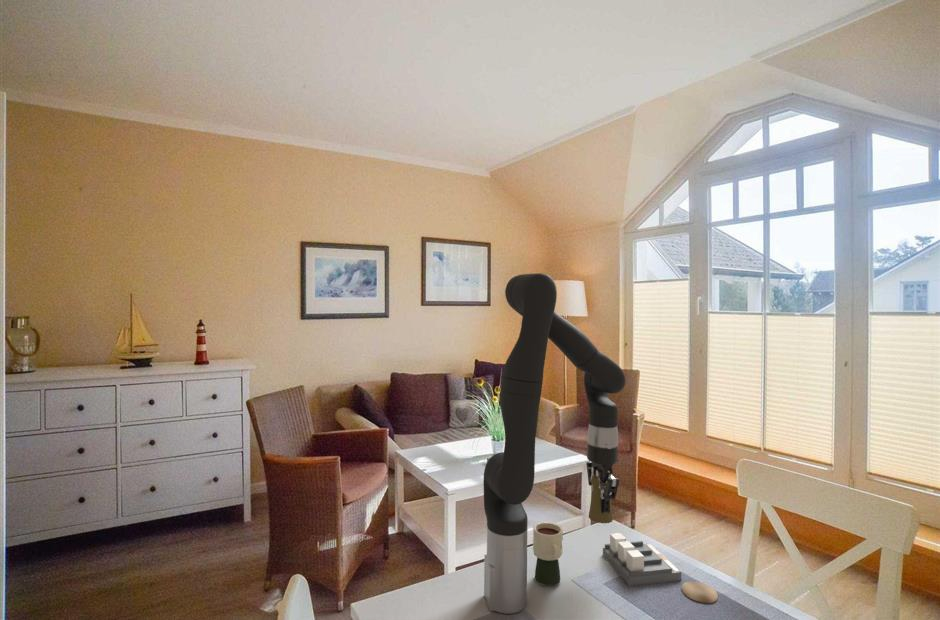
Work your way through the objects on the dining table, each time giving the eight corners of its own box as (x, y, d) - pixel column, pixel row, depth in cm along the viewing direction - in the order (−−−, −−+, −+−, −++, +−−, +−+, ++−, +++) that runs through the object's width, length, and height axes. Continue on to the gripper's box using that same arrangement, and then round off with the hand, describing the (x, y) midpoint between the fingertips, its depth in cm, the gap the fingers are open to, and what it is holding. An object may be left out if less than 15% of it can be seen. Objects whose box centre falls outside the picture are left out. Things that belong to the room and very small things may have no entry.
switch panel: (629, 585, 114) (629, 573, 114) (602, 555, 128) (602, 544, 128) (681, 580, 117) (681, 568, 117) (649, 550, 130) (650, 540, 130)
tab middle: (623, 563, 120) (623, 548, 120) (617, 557, 123) (618, 542, 123) (634, 562, 120) (634, 547, 120) (628, 556, 123) (628, 541, 123)
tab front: (632, 573, 115) (632, 557, 115) (626, 566, 118) (626, 550, 118) (643, 572, 116) (644, 556, 116) (637, 565, 119) (637, 549, 119)
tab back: (615, 554, 124) (615, 539, 124) (609, 548, 127) (610, 533, 127) (625, 553, 125) (626, 538, 125) (620, 547, 128) (620, 533, 128)
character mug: (570, 592, 111) (570, 538, 111) (541, 596, 110) (542, 540, 109) (552, 567, 122) (553, 517, 122) (526, 570, 120) (526, 519, 120)
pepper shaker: (614, 524, 117) (615, 480, 116) (589, 521, 118) (590, 478, 118) (611, 514, 122) (612, 472, 122) (587, 511, 124) (589, 469, 124)
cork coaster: (695, 604, 107) (695, 602, 107) (675, 585, 114) (675, 583, 114) (725, 601, 108) (725, 599, 108) (703, 582, 116) (703, 580, 116)
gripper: (577, 435, 126) (575, 498, 126) (601, 451, 112) (599, 523, 112) (603, 434, 128) (601, 497, 128) (630, 450, 114) (628, 521, 114)
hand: (600, 508), depth 120 cm, fingers closed on pepper shaker, 4 cm apart
